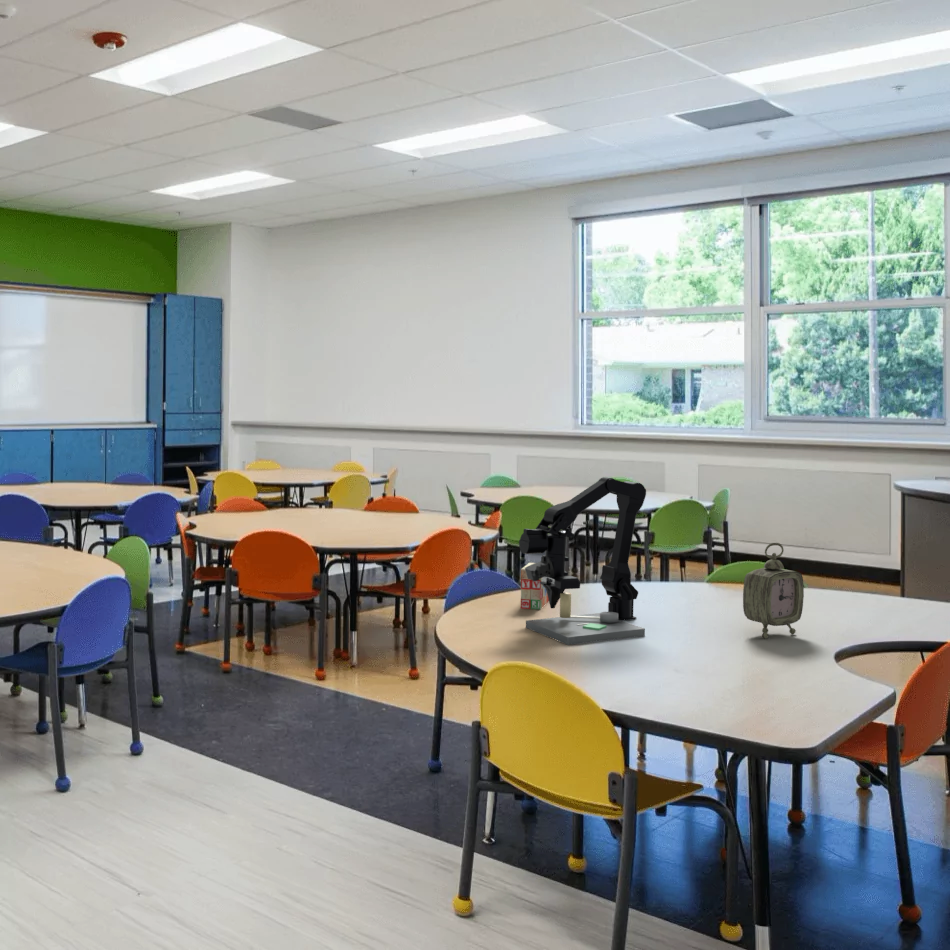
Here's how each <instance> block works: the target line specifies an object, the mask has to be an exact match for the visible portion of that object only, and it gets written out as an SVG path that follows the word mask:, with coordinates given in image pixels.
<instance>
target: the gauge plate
mask: <svg viewBox="0 0 950 950" xmlns="http://www.w3.org/2000/svg"><path fill="white" fill-rule="evenodd" d="M600 613H601V612H596V613H595V612H594V613H588V614H585V613H584V614H577V615H574V616H594V617H600ZM525 628H526V629H528V630H530V631H532V632H533V631H534V633H538V634H540V635H543V636H545V637H547V636H548V638H550V637H551V638H550V639H552V638H554V639H553V640H555V639H556V640H555V641H557V640H558V642H559V641H560V642H559V643H562V642H563V643H562V644H564V643H565V644H564V645H567V646H570V644H572V645H579V644H587V643H596V642H604V641H605V642H606V641H612V640H613V641H614V640H622V639H630V638H639V637H645V635H646V633H645V631H646V629H645V628H644V627H642V626H639V625H635V624H633V623H630V622H628V621H627V622H626V621H625V620H623V621H621V620H618V622H615V623H606V622H601V621H600V619H585V618H561V617H560V616H557V617H546V618H539V619H528V620H525Z"/></svg>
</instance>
